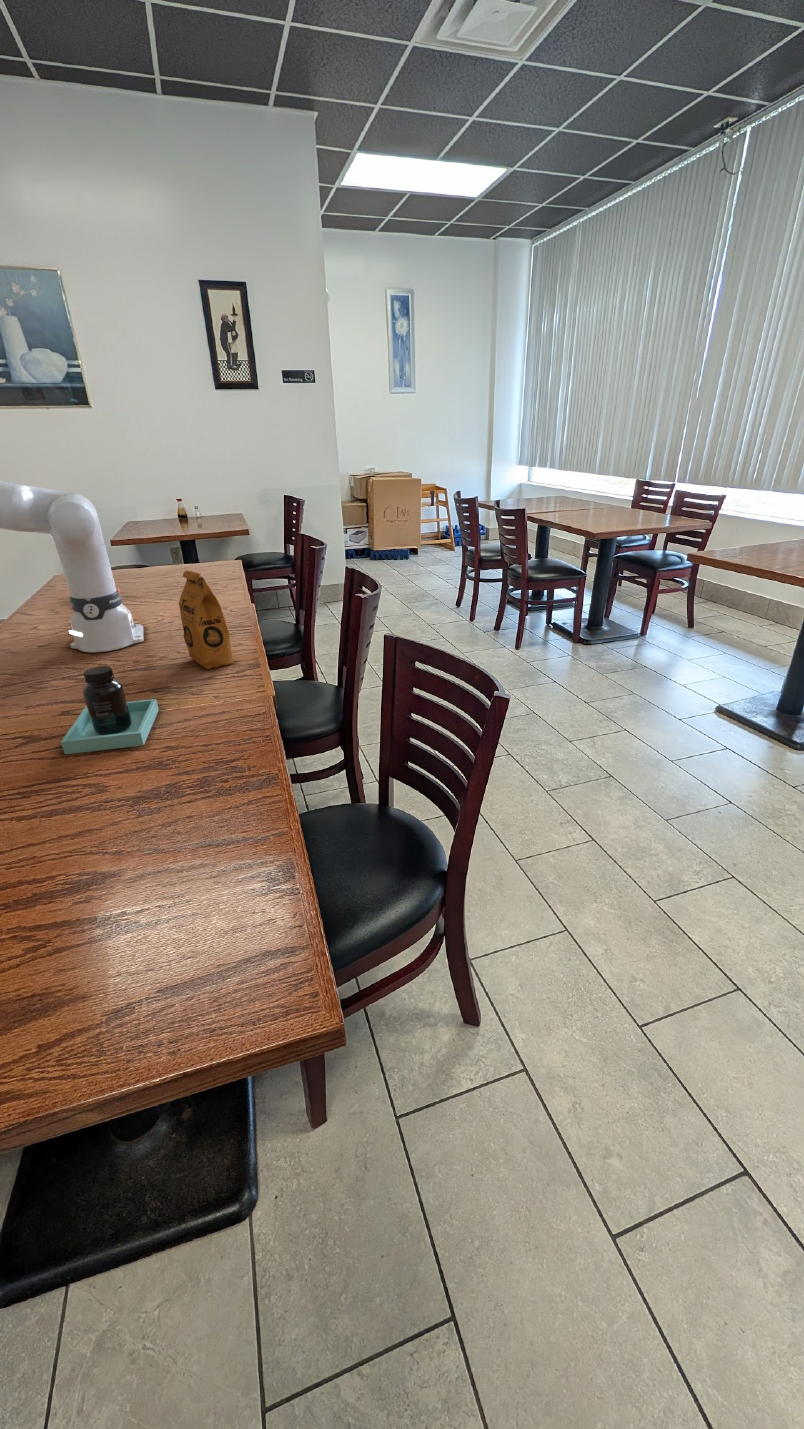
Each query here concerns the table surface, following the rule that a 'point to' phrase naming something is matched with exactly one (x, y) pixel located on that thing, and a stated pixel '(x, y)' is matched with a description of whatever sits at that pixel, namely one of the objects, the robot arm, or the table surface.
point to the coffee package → (204, 623)
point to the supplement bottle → (106, 701)
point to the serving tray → (88, 740)
